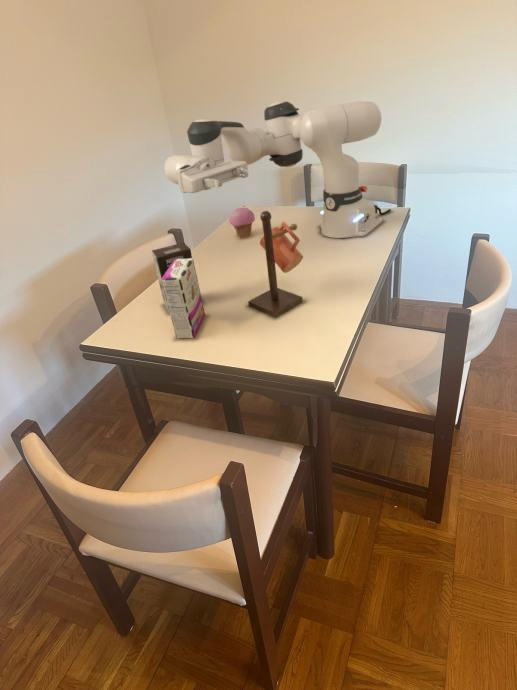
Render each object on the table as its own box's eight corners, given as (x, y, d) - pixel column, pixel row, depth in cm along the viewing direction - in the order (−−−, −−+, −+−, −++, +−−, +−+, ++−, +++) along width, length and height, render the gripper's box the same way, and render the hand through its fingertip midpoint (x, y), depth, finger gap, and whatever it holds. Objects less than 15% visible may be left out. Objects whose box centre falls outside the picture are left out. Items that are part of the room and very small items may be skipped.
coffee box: (170, 314, 129) (156, 257, 120) (164, 304, 134) (150, 249, 125) (202, 304, 131) (190, 248, 122) (195, 295, 136) (183, 241, 127)
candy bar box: (187, 316, 126) (174, 258, 118) (206, 316, 125) (194, 257, 117) (175, 339, 117) (159, 278, 108) (194, 339, 116) (180, 277, 107)
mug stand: (287, 285, 135) (279, 196, 121) (314, 294, 128) (309, 202, 115) (248, 306, 127) (235, 214, 114) (275, 317, 121) (264, 221, 107)
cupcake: (254, 230, 175) (251, 202, 170) (258, 238, 168) (255, 210, 162) (230, 234, 174) (226, 207, 169) (233, 242, 167) (229, 214, 162)
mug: (280, 276, 124) (256, 247, 126) (297, 267, 128) (273, 239, 130) (295, 251, 116) (270, 220, 118) (313, 242, 119) (288, 213, 121)
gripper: (231, 175, 147) (262, 180, 138) (176, 194, 136) (206, 201, 127) (228, 153, 143) (259, 157, 134) (171, 171, 133) (202, 176, 124)
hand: (233, 178), depth 131 cm, fingers open, 8 cm apart
